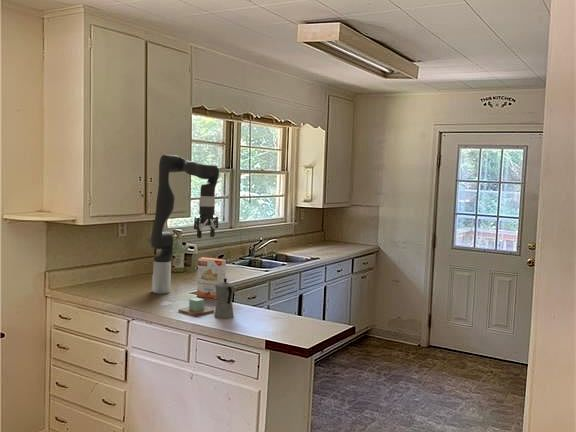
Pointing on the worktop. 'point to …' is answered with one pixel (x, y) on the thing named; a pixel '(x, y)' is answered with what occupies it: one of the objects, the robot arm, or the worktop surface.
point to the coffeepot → (224, 300)
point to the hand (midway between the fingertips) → (205, 237)
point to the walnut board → (196, 313)
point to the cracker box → (210, 276)
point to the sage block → (196, 304)
